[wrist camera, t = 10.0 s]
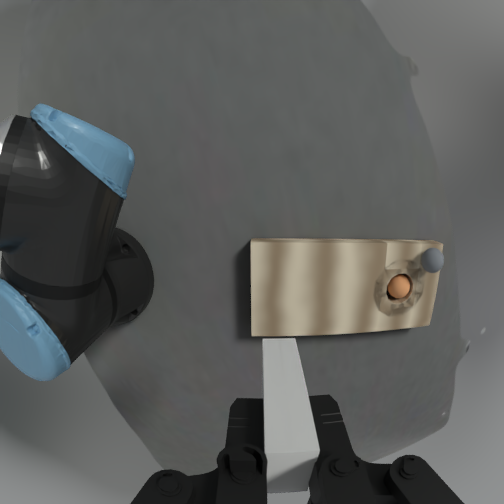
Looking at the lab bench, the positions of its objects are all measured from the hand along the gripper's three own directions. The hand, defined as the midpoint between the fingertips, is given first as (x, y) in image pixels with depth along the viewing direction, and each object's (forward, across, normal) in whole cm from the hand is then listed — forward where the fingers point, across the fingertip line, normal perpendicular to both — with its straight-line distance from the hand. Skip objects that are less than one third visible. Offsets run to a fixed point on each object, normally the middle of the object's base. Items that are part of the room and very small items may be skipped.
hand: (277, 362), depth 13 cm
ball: (+24, +20, -5) cm, 31 cm away
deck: (+26, +12, -5) cm, 29 cm away
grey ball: (+21, +23, 0) cm, 31 cm away
